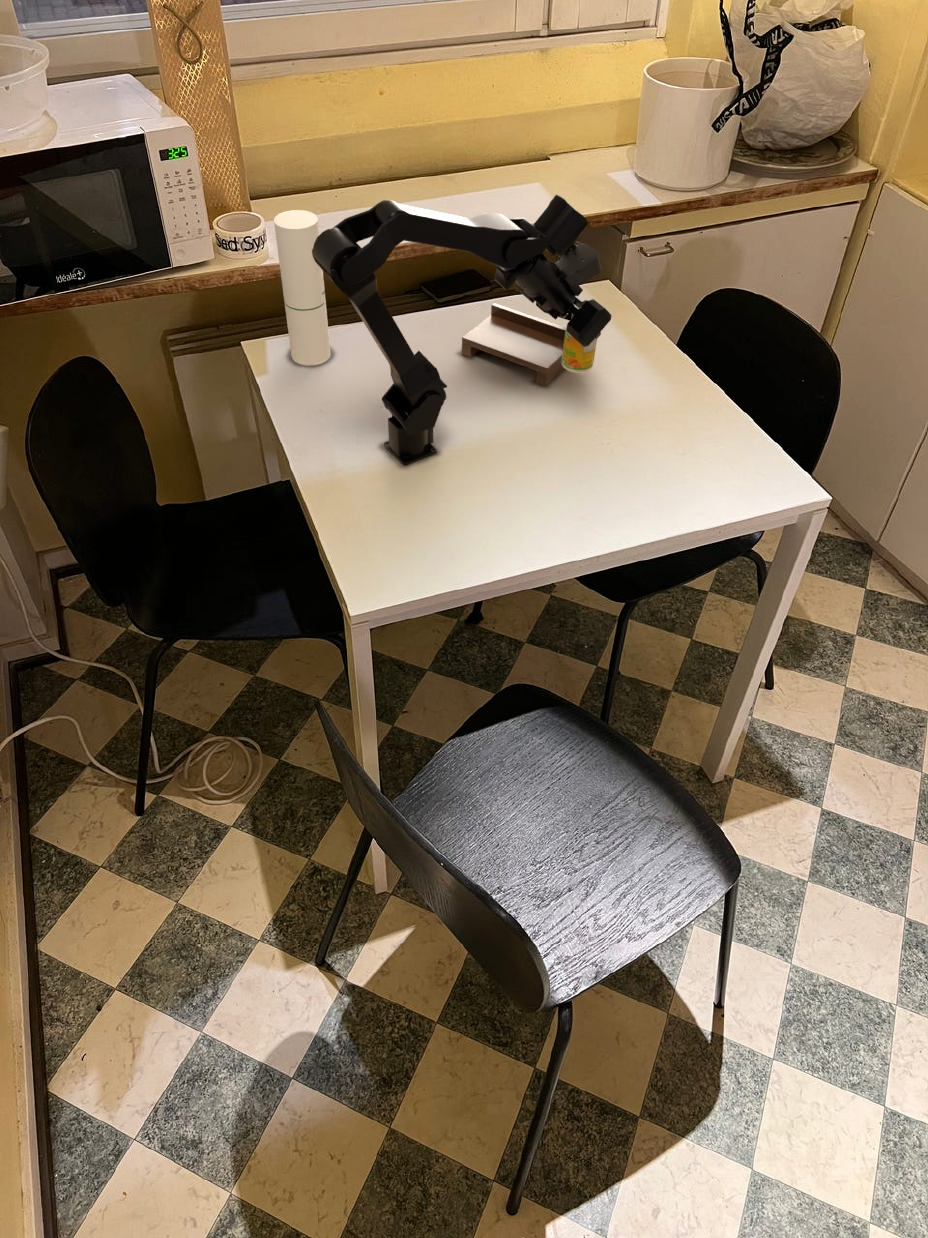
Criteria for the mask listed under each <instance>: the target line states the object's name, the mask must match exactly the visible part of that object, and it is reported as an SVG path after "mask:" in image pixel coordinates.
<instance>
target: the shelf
mask: <svg viewBox="0 0 928 1238" xmlns="http://www.w3.org/2000/svg"><path fill="white" fill-rule="evenodd" d="M565 331H566V326H563V325H559V324H557V323H554V322H550V321H547V320H545V319H542V318H540V317H536V316H533V315H531V314H528V313H526V312H525V313H524V312H522V311H520V310H516V309H514V308H510V307H507V306H504V305H501V304H499V303H496V302H494V303H492V304H491V307H490V315H489V316H488V317H486V318H485V319H484V320H482V321H481V322H480V323H479V324H478V325H476V326H475V327H474V328H472V329H471V330H470V331H468V332H467V333H466V334H464V335H463V336H462V337H461V355H463V356H465V357H467V358H472V357H473V356H474V355H475V354H477V353H478V352H479V351H481V352H485V353H488V354H490V355H493V356H494V357H495V356H496V357H499V358H501V359H505V360H507V361H510V362H512V363H514V364H517V365H520V366H523V367H525V368H528V369H531V370H533V371H536V378H535V379H536V380H535V382H536V383H537V384H539V385H543V386H547V385H548V384H549V383H550V382H551V381H552V380H553V379H554V378H556V377H557V376H558V375H559V374H560V373H561V372H562V371H563V370H564V369H565V368H564V367H563V366H562V354H563V347H564V339H565Z"/></svg>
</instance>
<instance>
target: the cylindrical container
mask: <svg viewBox="0 0 928 1238" xmlns="http://www.w3.org/2000/svg"><path fill="white" fill-rule="evenodd" d="M273 223H274V233H275V240H276V246H277V248H276V249H277V255H278V263H279V270H280V271H279V272H280V278H281V286H282V294H283V301H284V309H285V317H286V324H287V331H288V340H289V347H290V354H291V359H292V361H294V363H296V364H297V365H302V366H308V367H309V366H319V365H322V364H324V363H326V362H328V360H329V359H330V358H331V353H332V352H331V344H330V343H331V342H330V333H329V321H328V311H327V301H326V291H325V281H324V271H323V270H322V269H321V268H320V267H319V266H318V265H317V263H316V262H315V260H314V258H313V256H312V249H313V246H314V242H315V241H316V239H317V237H318V236H319V235H320V229H319V218H318V216H317V215H316V213H314V212H311V211H309V210H303V209H293V210H286V211H283V212H280V213H278V214H277V215H275V216H274V218H273Z"/></svg>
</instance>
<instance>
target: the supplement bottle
mask: <svg viewBox="0 0 928 1238" xmlns="http://www.w3.org/2000/svg"><path fill="white" fill-rule="evenodd" d="M576 308H577V309H579V308H578V307H577V306H576ZM580 308H581V307H580ZM572 316H573V314H572ZM571 319H572V318H571ZM565 328H566V330H567V325H566V326H565ZM597 343H598V338H597V339H594V340H593V341H592V342H591V344H590V345H589V346H586V347H583V346H582V345H581V344H580V343H579V342H578V341H576V340H575V339H574V338H573V337H572V336H571V335H570V334H569V333H568V332H567V331H565V339H564V347H563V354H562V366H563V367H564V369H565V371H569V372H571V373H575V374H583V373H587V372H589V371H591V370H592V368H593V367H594V363H595V357H596V349H597Z"/></svg>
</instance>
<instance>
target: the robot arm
mask: <svg viewBox="0 0 928 1238" xmlns="http://www.w3.org/2000/svg"><path fill="white" fill-rule="evenodd" d="M589 225H590V223H589V221H588V219H587V218H586V217H585V216H584V215H583V214H582V213H580V212H579V211H578V210H576V209H575V208H574V207H573V206H572V205H571V204H569V202H567V200H566V199H565V198H563V197H562V196H561V195H559V194H557V193H556V194H555V195H554V196H553V197H552V199H551V200H550V201H549V203H548V205H547V207H546V208H545V209H544V210H543V211H542V213H541V214H540V215H539V216H538V218H537V219H536V220H535V222H534V223H533V224H532V223H531V222H530V221H529V220H527V219H526V218H525V217H507V216H505V215H504V214H503V213H478V214H477V215H474V216H461V215H457V214H452V213H446V212H441V211H436V210H432V209H427V208H422V207H416V206H412V205H407V204H402V203H398V202H396V201H395V200H392V199H383V200H381V201H379V202H378V203H376V204H375V205H374V206H372V207H371V208H370V209H367V210H366V211H365V210H364V211H362V212H360V213H357V214H354V215H351V216H348V217H346V218H344V219H343V220H341V221H340V222H338V223H337V224H336V225H334V226H333V227H332V228H331V227H330V228H327V229H326V230H324V231H322V232H320V233H319V236H318V237H317V239H316V241H315V242H314V246H313V249H312V256H313V258H314V260H315V262H316V263H317V265H318V266H319V267H320V268H321V269H322V270H323V273H324V274H325V275H326V276H327V277H328V278H329V279H330V281H332V282H333V284H334V285H335V286H336V287H337V288H338V289H339V290H340V291H341V292H342V293H343V295H344V296H346V298H347V299H348V300H349V301H350V303H351V304H352V306H353V308H354V309H355V311H356V313H357V314H358V316H359V317H360V319H361V321H362V323H363V324H364V325H365V327H366V329H367V330H368V332H369V333H370V334H369V335H370V336H371V337H372V339H373V340H374V342H375V343H376V345H377V347H378V349H379V350H380V352H381V353H382V355H383V356H384V358H385V359H386V361H387V363H388V365H389V368H390V377H391V379H392V384H391V386H390V387H389V388H388V389H387V391H386V392H385V393H384V395H383V396H382V397H381V402H382V404H383V406H384V407H385V409H386V410H387V411H388V412H389V413H390V414H391V417H388V418H387V429H388V440H387V441H384V443H383V446H384V448H385V449H386V450H387V451H388V452H390V453H391V454H392V455H393V456H394V458H396V460H397V461H399V462H400V463H401V464H402V465H404V466H407V465H410V464H412V463H414V462H417V461H420V460H422V459H424V458H427V457H429V456H432V455H434V454H437V452H438V451H437V450H438V449H437V448H436V447H435V446H434V445H433V443H434V428H435V427H436V424H437V422H438V418H439V415H440V413H441V409H442V407H443V405H444V403H445V401H446V400H447V393H446V390H445V389H447V388H448V385H447V384H446V382H445V381H443V380H442V379H441V375H440V373H439V370H438V369H437V367H436V366H435V365H434V364H433V363H432V361H430V360H429V358H428V357H426V355H425V354H424V353H423V351H421V350H420V349H419V350H417V352H415V353H414V351H413V350H412V348H411V347H410V345H409V343H408V341H407V339H406V338H405V336H404V334H403V333H402V331H401V330H400V328H399V326H398V324H397V322H396V321H395V319H394V317H393V316H392V314H391V312H390V310H389V309H388V307H387V305H386V304H385V302H384V300H383V299H382V296H381V295H380V293H379V290H378V282H377V275H376V271H377V270H379V269H380V268H381V267H383V265H384V264H386V262H387V261H388V259H389V257H390V256H391V254H392V253H393V251H394V249H395V248H396V247H397V246H398V245H400V244H401V243H403V242H409V243H416V244H422V245H426V246H431V247H438V248H444V249H449V250H455V251H460V252H467V253H469V254H472V255H475V256H476V257H478V258H480V259H482V260H483V261H485V262H488V263H490V264H492V265H494V266H496V269H495V270H496V272H495V274H494V281H495V282H496V283H497V284H499V285H500V286H501V287H502V288H503V289H504V290H505V291H508V290H510V289H511V288H512V286H513V285H514V284H517V285H518V292H519V293H521V294H522V295H523V297H525V298H526V299H527V300H528V301H529V302H530V303H532V304H534V303H535V306H536V307H537V308H538V309H539V310H540V311H542V312H543V313H545V314H547V315H549V316H550V317H552V318H553V319H554V320H557V319H558V318H560V319H562V320H566V321H568V322H567V323H566V326H567V330H566V331H567V332H568V333H569V334H570V335H571V336H572V337H573V338H574V339H575V340H576V341H578V342H579V343H580V344H581V345H582V346H583V347H586V346H589V345H590V344H591V342H592V341H593V340H594V339H597V340H598V339H599V337H600V336H601V335H602V331H603V330H604V329H605V327H606V326H608V324H609V323H610V322H611V320H612V314H611V313H610V311H608V309H607V308H605V307H604V306H603V304H600V303H599V302H598V301H597V300H595V299H594V298H592V299H588V300H587V299H584V300H580V299H579V298H578V297H579V296H580V295H581V294H582V293H583V291H584V289H583V288H582V287H581V286H583V285H584V284H586V283H587V282H589V281H590V280H591V279H592V278H594V277H596V276H598V275H600V274H601V273H602V271H603V269H602V268H603V267H602V265H601V260H600V257H599V253H598V251H596V250H595V249H593V247H591V246H590V245H588V244H587V243H584V242H580V241H577V240H578V238H579V237H581V235H582V234H583V233H584V231H585V230H586V229H587V227H589ZM369 238H371V239H370V241H369V242H368V243H366V244H365V245H364V246H363V247H361V246H360V245H359V243H358V242H361V241H364V240H367V239H369ZM574 243H575V244H574ZM545 251H546V252H547V253H548V254H549V255H551V257H555V256H556V255H557V259H556V262H554V261H552V260H551V259H549V258H548V257H547V255H546V254H545V253H544V252H545ZM577 307H578V308H579V309H577ZM580 307H581V308H580ZM572 314H573V316H572ZM571 318H572V319H571Z"/></svg>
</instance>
